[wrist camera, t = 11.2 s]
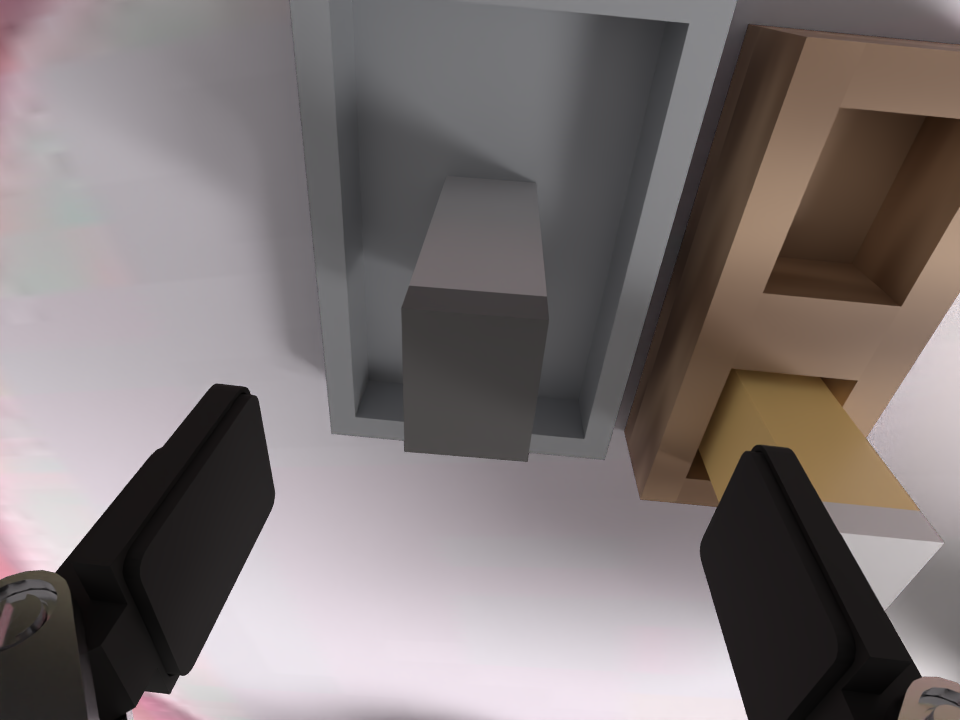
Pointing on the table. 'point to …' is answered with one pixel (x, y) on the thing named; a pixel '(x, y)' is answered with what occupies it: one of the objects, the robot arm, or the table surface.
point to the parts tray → (499, 175)
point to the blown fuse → (476, 323)
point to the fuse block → (807, 239)
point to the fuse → (824, 470)
